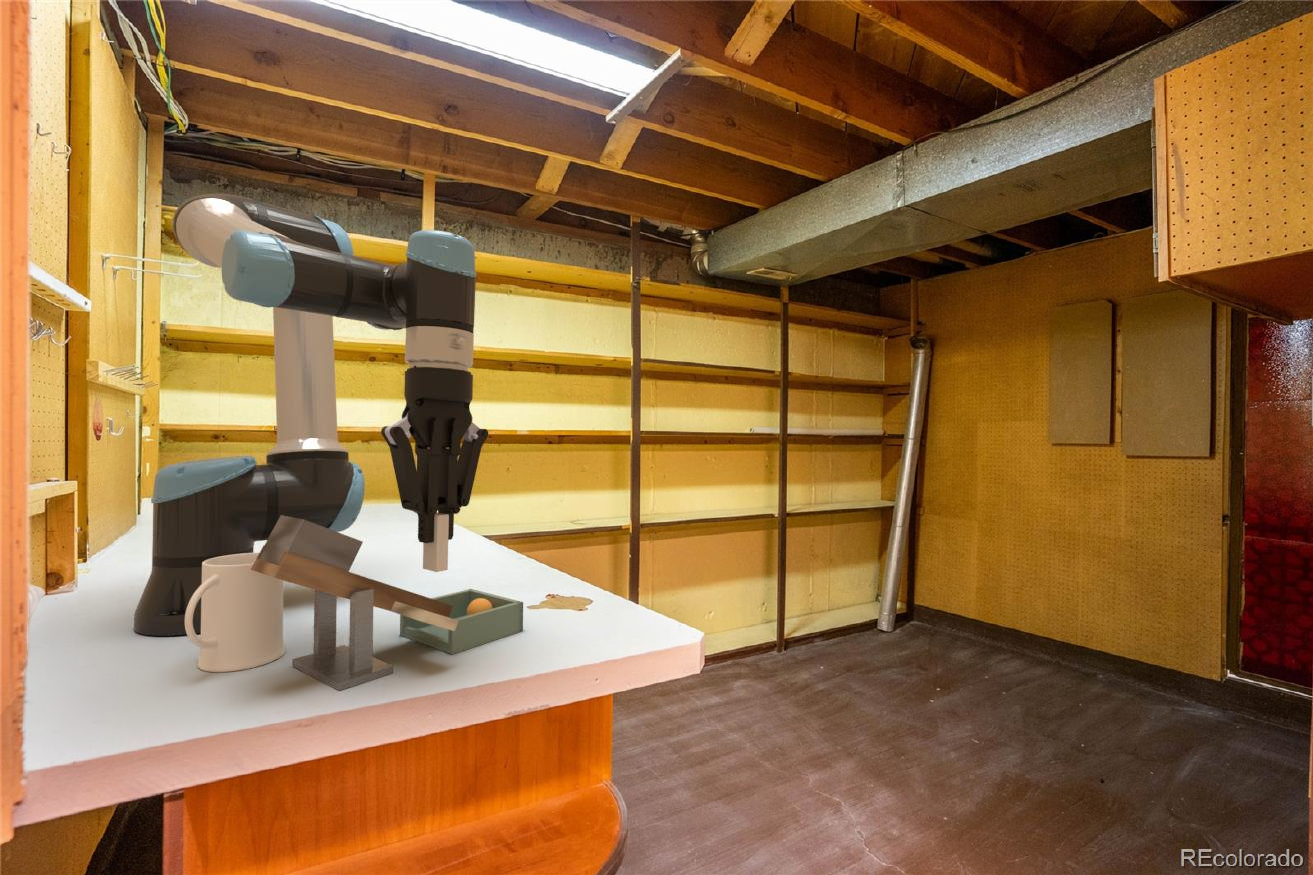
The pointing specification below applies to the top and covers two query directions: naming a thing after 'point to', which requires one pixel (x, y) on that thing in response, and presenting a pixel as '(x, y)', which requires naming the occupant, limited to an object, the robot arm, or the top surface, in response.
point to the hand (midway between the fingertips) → (435, 569)
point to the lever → (337, 570)
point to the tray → (467, 622)
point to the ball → (478, 606)
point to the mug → (237, 615)
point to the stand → (343, 662)
